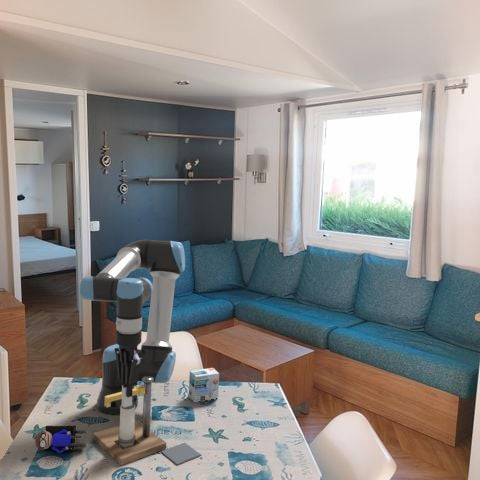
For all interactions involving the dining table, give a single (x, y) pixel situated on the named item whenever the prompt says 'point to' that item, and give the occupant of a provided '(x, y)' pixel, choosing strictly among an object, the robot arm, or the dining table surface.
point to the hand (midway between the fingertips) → (126, 405)
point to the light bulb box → (203, 384)
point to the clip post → (147, 406)
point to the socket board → (123, 456)
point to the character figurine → (59, 438)
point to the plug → (127, 426)
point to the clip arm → (117, 396)
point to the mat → (180, 453)
